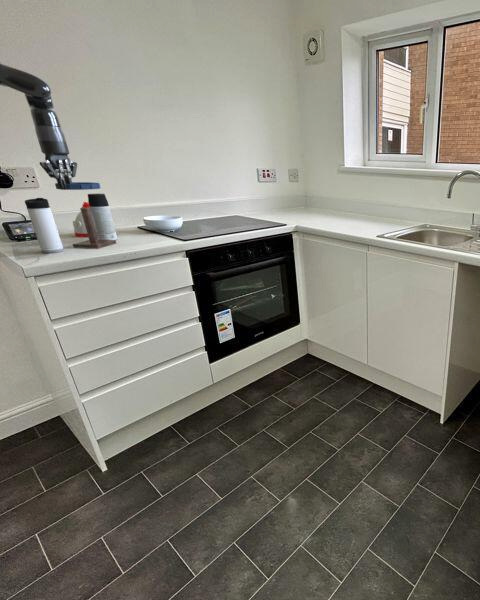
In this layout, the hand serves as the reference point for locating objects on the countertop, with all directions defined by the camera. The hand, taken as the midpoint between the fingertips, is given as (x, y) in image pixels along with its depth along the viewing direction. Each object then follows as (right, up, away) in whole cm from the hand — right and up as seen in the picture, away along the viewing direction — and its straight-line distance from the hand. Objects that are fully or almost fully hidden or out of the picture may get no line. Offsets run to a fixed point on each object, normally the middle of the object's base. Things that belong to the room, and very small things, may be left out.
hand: (66, 189), depth 134 cm
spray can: (-4, -16, +24) cm, 29 cm away
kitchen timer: (-19, -11, +34) cm, 41 cm away
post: (-1, -19, +14) cm, 24 cm away
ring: (0, +2, +5) cm, 6 cm away
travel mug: (-8, -24, +3) cm, 25 cm away
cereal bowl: (+7, -7, +47) cm, 48 cm away
